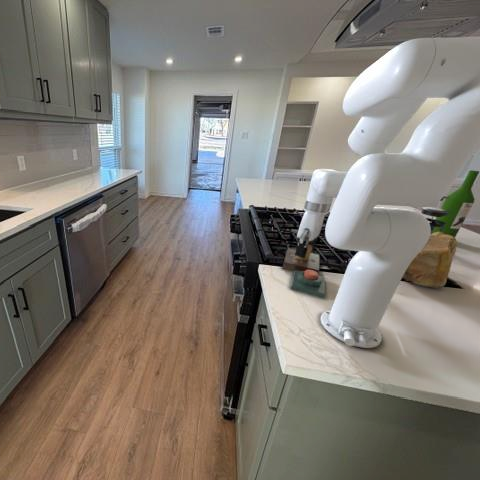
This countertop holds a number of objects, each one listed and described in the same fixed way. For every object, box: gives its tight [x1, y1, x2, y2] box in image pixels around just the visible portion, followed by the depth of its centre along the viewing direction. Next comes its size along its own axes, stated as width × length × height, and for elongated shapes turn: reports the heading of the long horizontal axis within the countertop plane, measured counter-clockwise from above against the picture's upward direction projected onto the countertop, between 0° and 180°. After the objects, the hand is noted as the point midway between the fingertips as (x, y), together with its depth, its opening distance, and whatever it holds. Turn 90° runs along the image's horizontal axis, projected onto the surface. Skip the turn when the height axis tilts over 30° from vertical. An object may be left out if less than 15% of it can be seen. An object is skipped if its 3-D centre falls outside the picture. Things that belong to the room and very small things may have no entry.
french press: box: [420, 195, 451, 234], centre depth 110 cm, size 12×9×23 cm
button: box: [304, 270, 319, 280], centre depth 81 cm, size 4×4×2 cm
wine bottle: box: [432, 169, 480, 239], centre depth 117 cm, size 9×9×32 cm
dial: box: [296, 245, 313, 261], centre depth 92 cm, size 4×4×5 cm
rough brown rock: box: [402, 232, 458, 289], centre depth 89 cm, size 23×17×15 cm
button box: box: [290, 270, 326, 299], centre depth 82 cm, size 11×9×4 cm
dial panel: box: [282, 247, 320, 274], centre depth 94 cm, size 14×11×3 cm
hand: (304, 252), depth 92 cm, fingers open, 9 cm apart
